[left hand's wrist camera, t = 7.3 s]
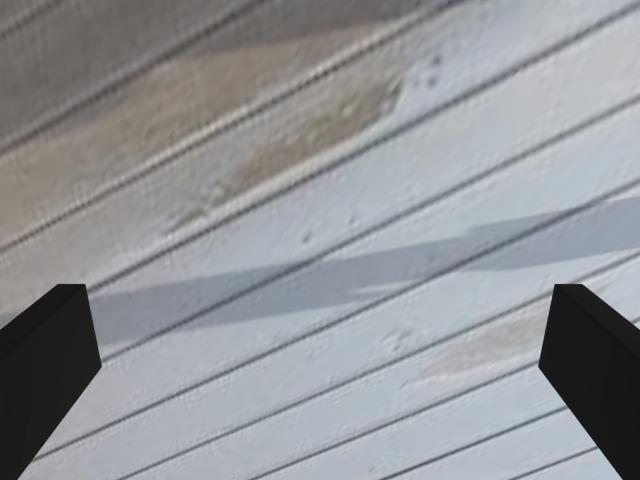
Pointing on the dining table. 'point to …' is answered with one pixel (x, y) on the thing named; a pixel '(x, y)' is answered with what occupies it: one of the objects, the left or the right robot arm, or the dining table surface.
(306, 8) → the dining table surface
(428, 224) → the dining table surface
